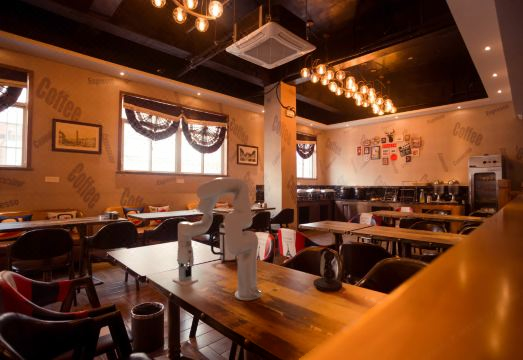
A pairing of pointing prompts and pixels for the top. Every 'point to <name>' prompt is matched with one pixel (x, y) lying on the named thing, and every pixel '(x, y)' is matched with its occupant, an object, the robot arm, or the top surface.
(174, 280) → the post stand
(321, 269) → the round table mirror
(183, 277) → the gray rectangular block
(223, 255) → the coffee press
